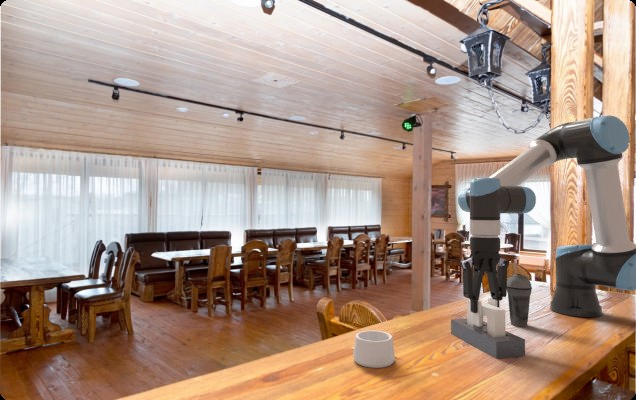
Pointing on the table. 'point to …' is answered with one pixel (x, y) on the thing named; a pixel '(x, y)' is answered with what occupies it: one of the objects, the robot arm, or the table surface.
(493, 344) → the cinder block
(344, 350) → the table surface
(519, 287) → the beverage cup
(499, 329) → the white arch
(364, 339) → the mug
